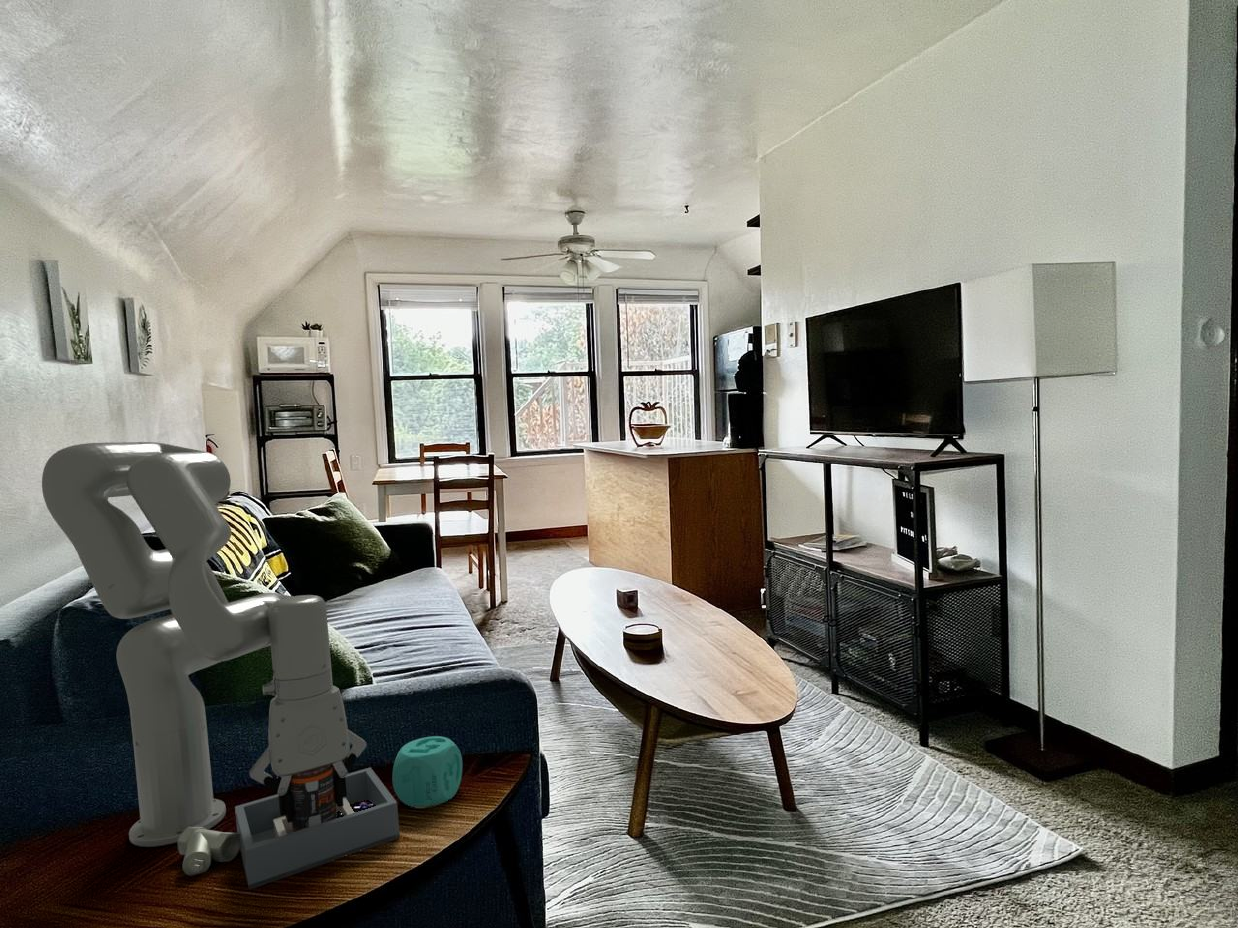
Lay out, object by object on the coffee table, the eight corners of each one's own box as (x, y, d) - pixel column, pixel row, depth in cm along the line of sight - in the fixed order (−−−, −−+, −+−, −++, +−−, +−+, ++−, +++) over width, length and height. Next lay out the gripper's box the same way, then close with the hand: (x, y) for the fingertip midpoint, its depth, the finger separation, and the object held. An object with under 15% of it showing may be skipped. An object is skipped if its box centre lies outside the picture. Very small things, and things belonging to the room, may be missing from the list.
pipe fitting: (200, 885, 96) (243, 853, 103) (195, 857, 96) (238, 826, 102) (157, 876, 99) (201, 845, 105) (152, 849, 99) (197, 819, 105)
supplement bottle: (327, 836, 102) (320, 755, 101) (284, 839, 102) (277, 758, 102) (344, 814, 108) (337, 737, 107) (303, 817, 108) (297, 740, 108)
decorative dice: (393, 808, 112) (389, 756, 112) (419, 783, 120) (415, 735, 120) (442, 809, 111) (437, 757, 110) (464, 785, 118) (460, 735, 118)
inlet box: (238, 840, 106) (234, 806, 106) (373, 798, 116) (370, 767, 116) (249, 889, 93) (245, 850, 93) (400, 837, 103) (396, 802, 103)
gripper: (237, 706, 96) (249, 842, 97) (372, 676, 105) (383, 801, 106) (232, 692, 103) (243, 820, 103) (360, 665, 112) (370, 782, 112)
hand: (314, 809), depth 104 cm, fingers closed on supplement bottle, 6 cm apart
